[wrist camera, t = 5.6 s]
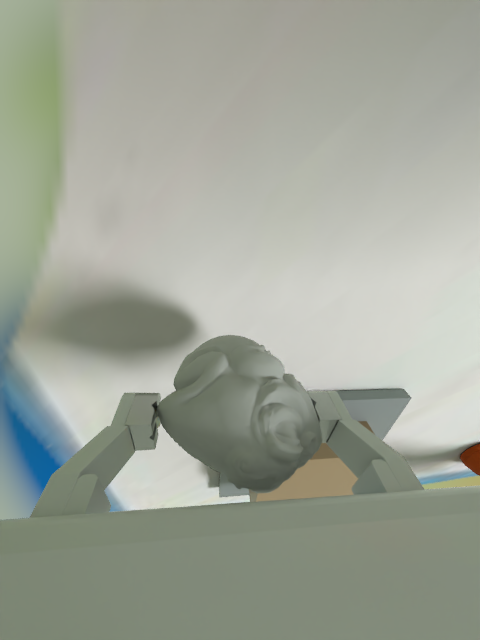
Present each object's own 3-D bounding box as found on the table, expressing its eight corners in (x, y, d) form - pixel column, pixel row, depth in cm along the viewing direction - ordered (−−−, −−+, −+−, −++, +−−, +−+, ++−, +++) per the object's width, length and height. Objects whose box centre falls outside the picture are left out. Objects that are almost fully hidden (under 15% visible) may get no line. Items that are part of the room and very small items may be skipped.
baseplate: (224, 394, 19) (227, 442, 16) (403, 388, 21) (439, 430, 18) (219, 487, 28) (220, 531, 24) (347, 476, 30) (364, 516, 26)
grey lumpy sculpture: (274, 391, 16) (303, 518, 11) (171, 381, 15) (138, 517, 9) (306, 318, 13) (372, 442, 7) (177, 299, 12) (134, 427, 6)
